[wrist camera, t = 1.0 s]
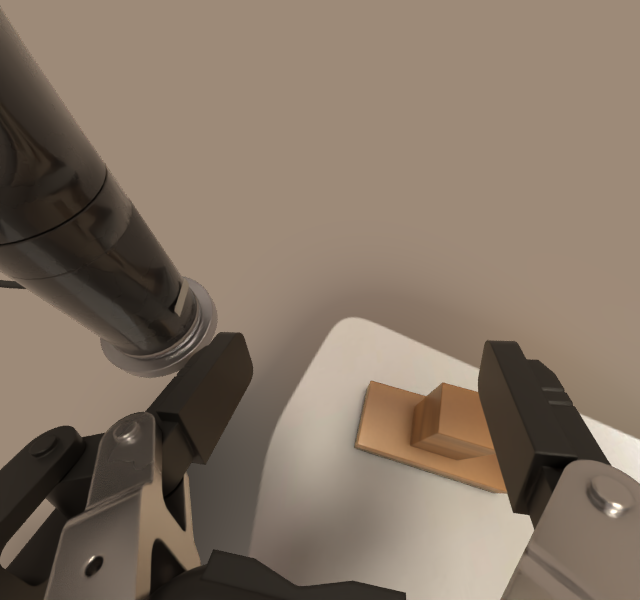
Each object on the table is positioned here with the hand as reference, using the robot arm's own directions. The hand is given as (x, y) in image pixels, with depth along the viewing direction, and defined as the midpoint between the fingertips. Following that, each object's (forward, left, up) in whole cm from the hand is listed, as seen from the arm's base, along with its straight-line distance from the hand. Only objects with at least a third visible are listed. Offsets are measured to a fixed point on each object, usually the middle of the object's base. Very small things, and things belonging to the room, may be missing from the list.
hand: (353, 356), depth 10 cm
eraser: (+7, +2, -18) cm, 19 cm away
